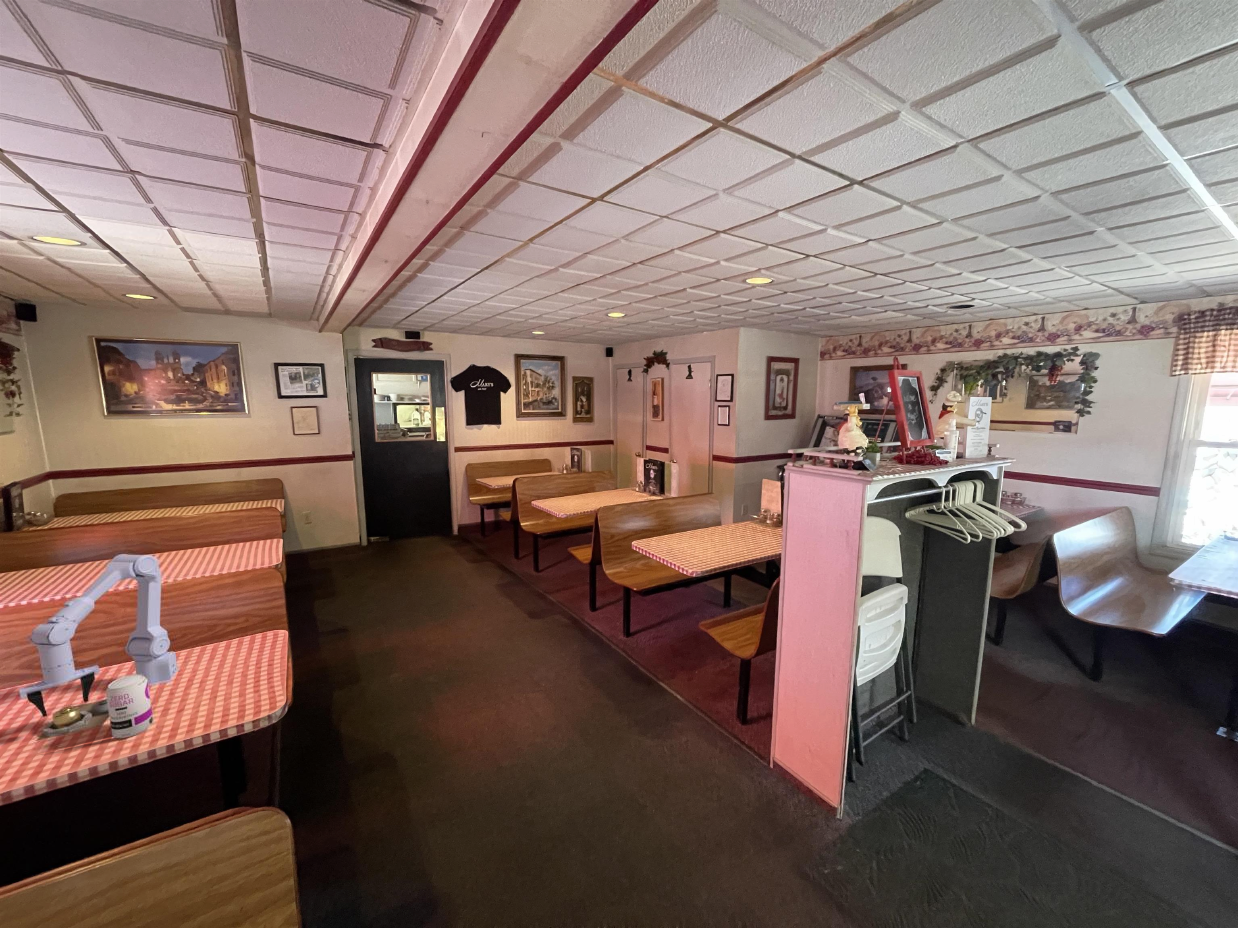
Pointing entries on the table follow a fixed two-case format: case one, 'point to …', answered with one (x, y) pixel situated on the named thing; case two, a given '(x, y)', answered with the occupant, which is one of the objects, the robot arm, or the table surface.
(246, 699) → the table surface
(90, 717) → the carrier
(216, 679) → the table surface
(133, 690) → the supplement can
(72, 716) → the brass knob
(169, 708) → the table surface
